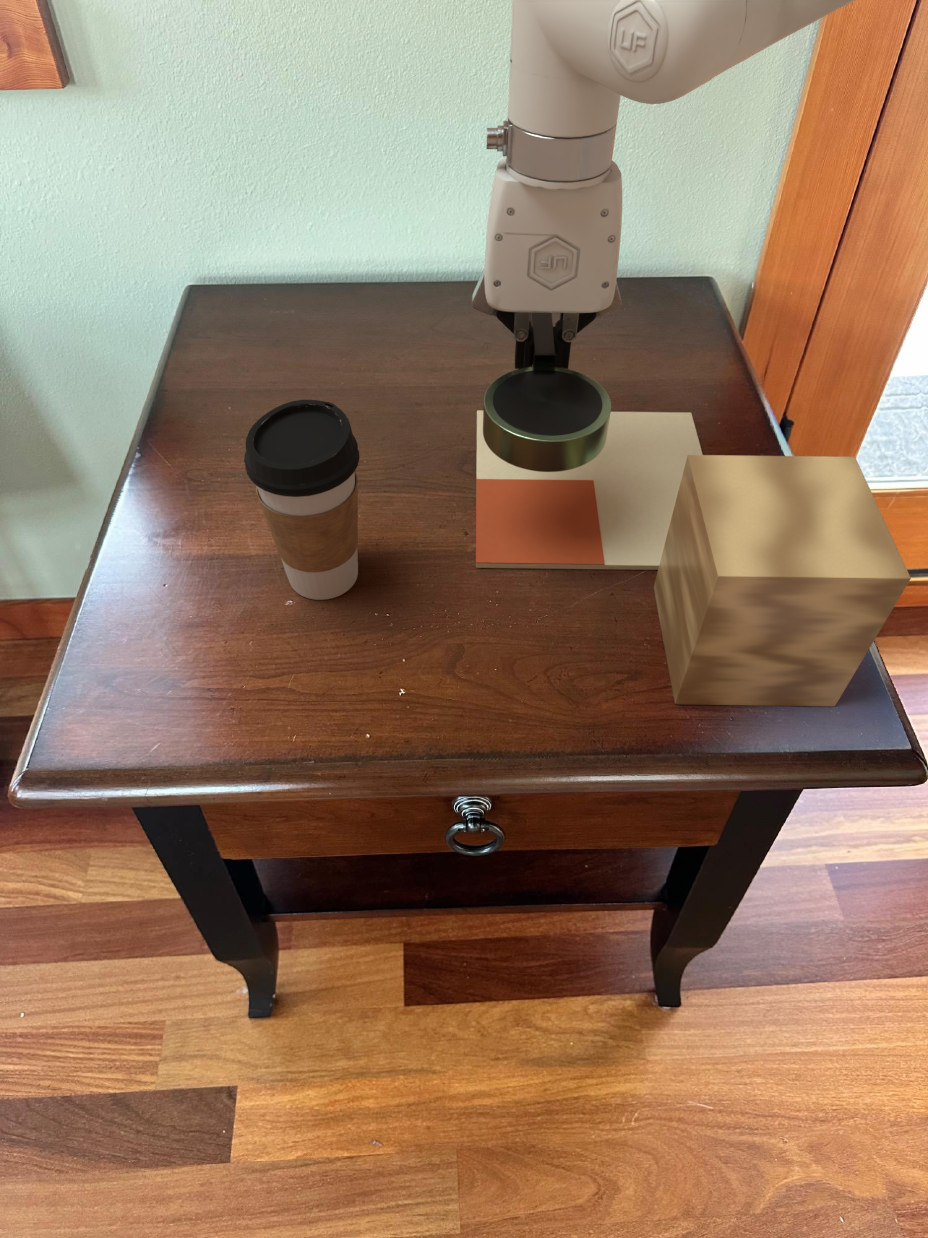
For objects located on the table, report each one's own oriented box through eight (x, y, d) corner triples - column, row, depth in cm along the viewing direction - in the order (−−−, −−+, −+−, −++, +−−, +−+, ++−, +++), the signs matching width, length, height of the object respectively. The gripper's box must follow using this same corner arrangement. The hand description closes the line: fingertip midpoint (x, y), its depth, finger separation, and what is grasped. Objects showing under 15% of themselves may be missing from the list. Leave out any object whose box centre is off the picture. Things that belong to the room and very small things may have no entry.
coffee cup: (392, 563, 72) (379, 419, 61) (331, 626, 67) (305, 483, 56) (316, 527, 75) (290, 383, 64) (252, 585, 70) (212, 441, 59)
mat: (690, 417, 86) (691, 411, 85) (731, 571, 72) (733, 565, 71) (476, 414, 86) (476, 409, 86) (475, 568, 72) (475, 562, 71)
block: (795, 588, 70) (855, 456, 60) (835, 706, 62) (911, 578, 52) (653, 587, 70) (687, 454, 60) (674, 704, 63) (718, 576, 52)
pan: (482, 344, 76) (483, 303, 73) (592, 345, 76) (597, 304, 73) (482, 471, 64) (483, 429, 61) (612, 473, 64) (619, 430, 61)
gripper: (446, 167, 56) (448, 398, 70) (680, 169, 56) (636, 401, 70) (448, 125, 61) (450, 349, 75) (664, 127, 61) (626, 352, 75)
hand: (540, 373), depth 73 cm, fingers closed on pan
